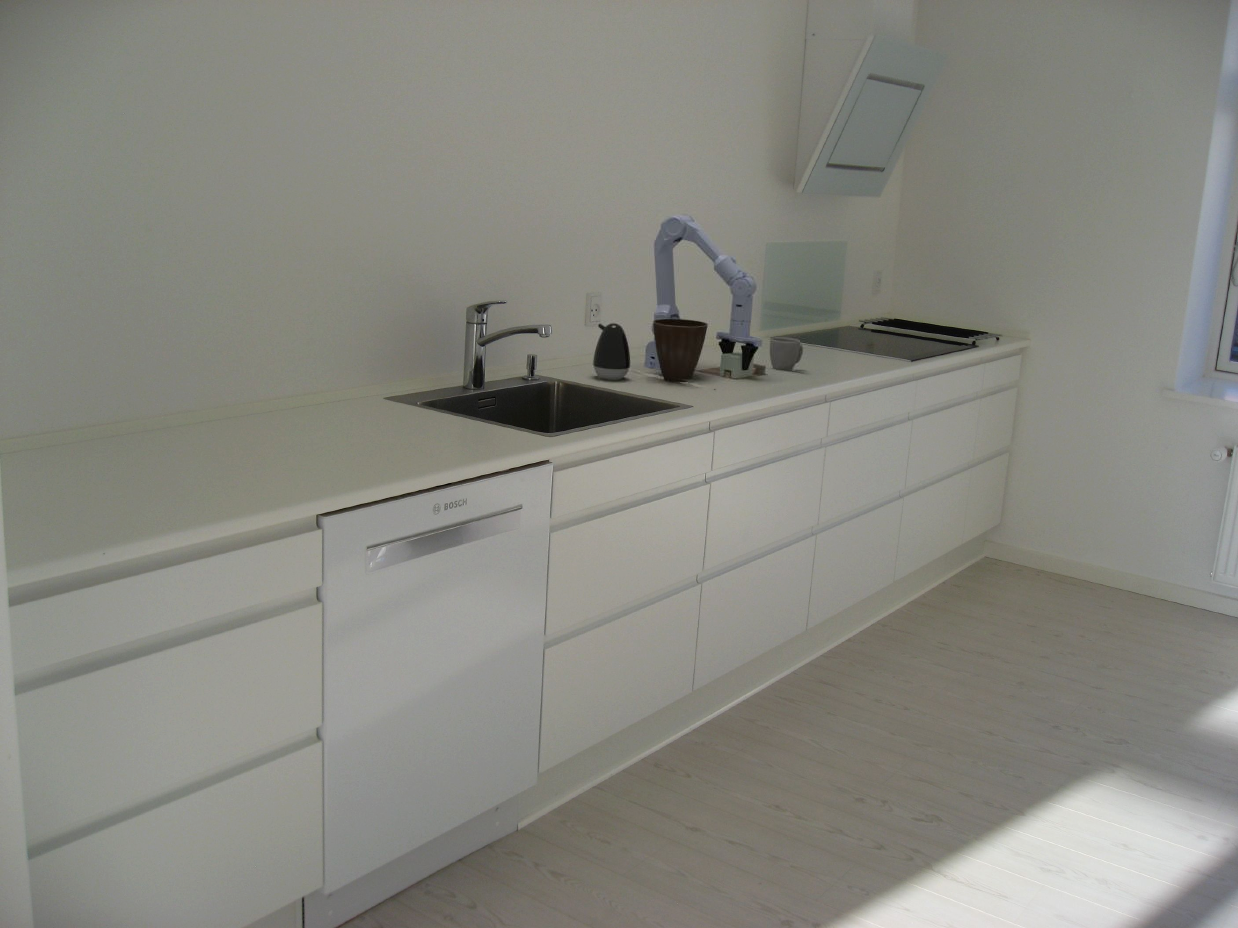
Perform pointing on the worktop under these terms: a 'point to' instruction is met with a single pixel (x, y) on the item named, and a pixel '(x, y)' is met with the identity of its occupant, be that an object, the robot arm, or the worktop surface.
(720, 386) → the worktop surface
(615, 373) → the pump dispenser
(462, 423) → the worktop surface
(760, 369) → the cleat board
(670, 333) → the plant pot
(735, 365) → the cabinet block
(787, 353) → the mug
